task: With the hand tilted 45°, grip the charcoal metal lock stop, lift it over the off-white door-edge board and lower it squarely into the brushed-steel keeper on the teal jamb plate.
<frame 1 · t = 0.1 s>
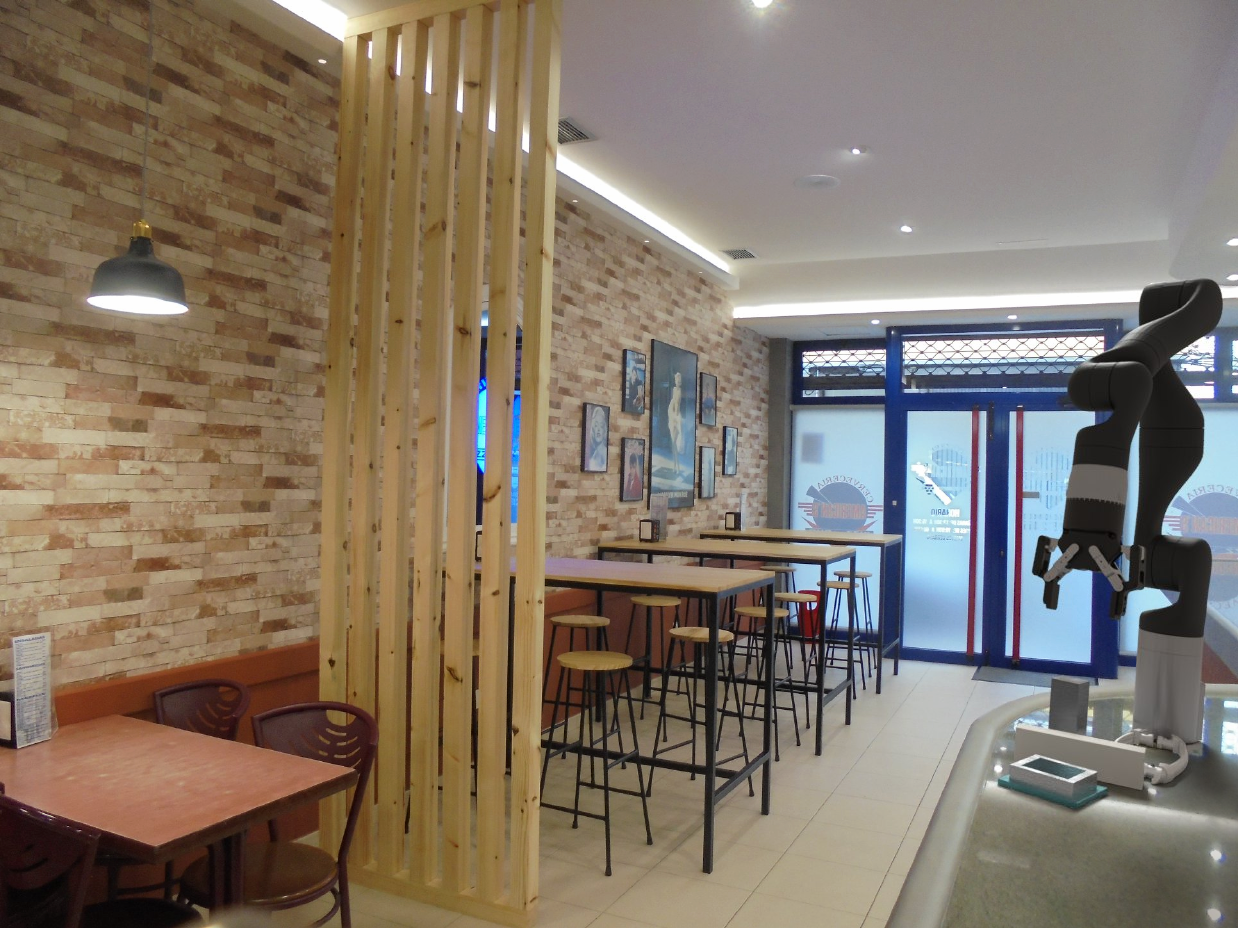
hand: (1081, 614, 125), 22 cm above the table, tool pointing down, fingers open, 8 cm apart
door handle: (1148, 764, 134), on the table
keeper: (1052, 789, 118), on the table
door edge: (1076, 772, 125), on the table
lock stop: (1065, 751, 135), on the table
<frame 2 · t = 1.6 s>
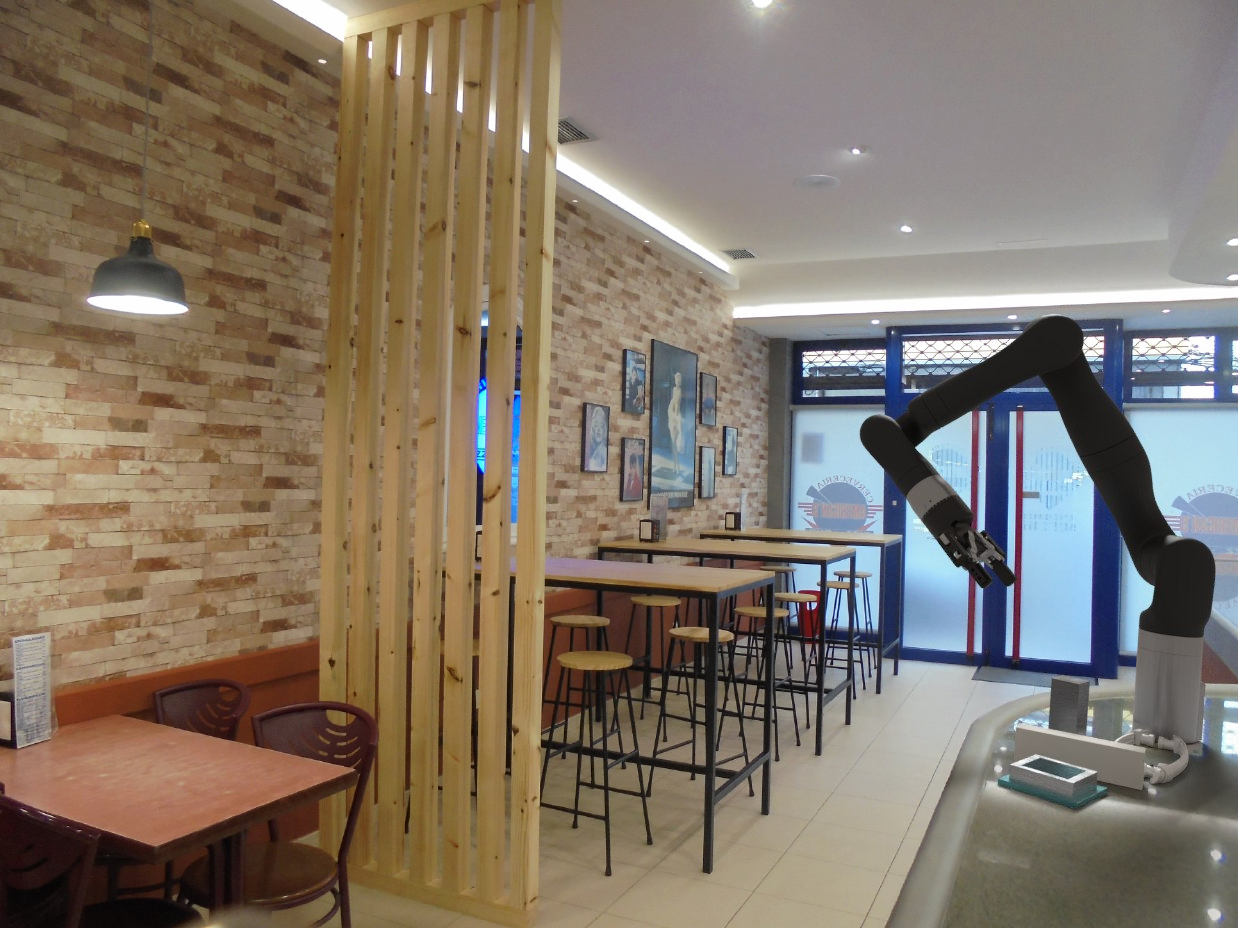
hand: (1000, 584, 144), 24 cm above the table, tool tilted 45°, fingers open, 8 cm apart
nothing on the table moved.
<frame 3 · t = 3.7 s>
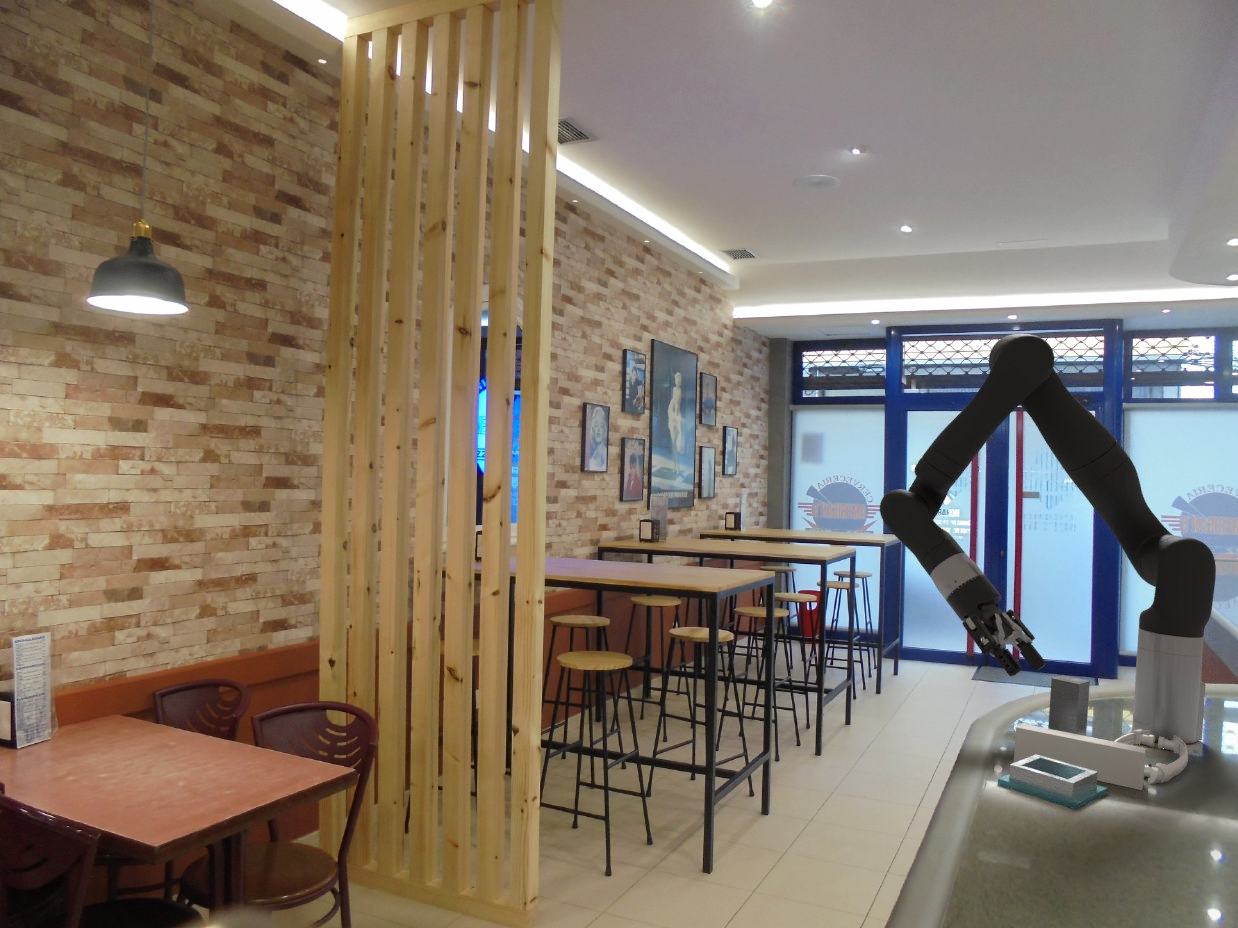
hand: (1029, 670, 140), 11 cm above the table, tool tilted 45°, fingers open, 8 cm apart
nothing on the table moved.
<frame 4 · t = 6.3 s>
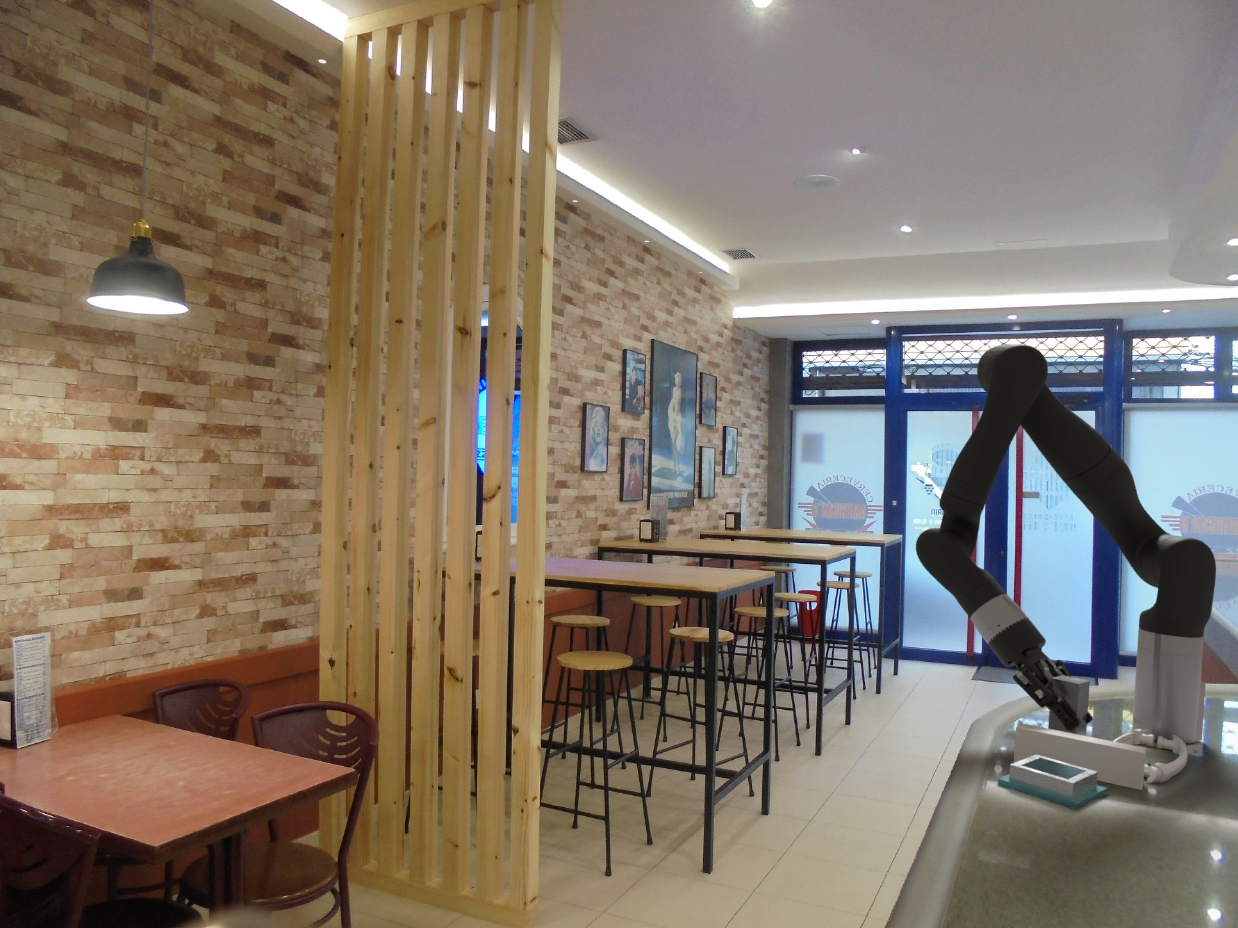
hand: (1081, 724, 134), 5 cm above the table, tool tilted 45°, fingers closed on lock stop, 4 cm apart
lock stop: (1065, 751, 135), on the table, touching gripper
everything else where it was.
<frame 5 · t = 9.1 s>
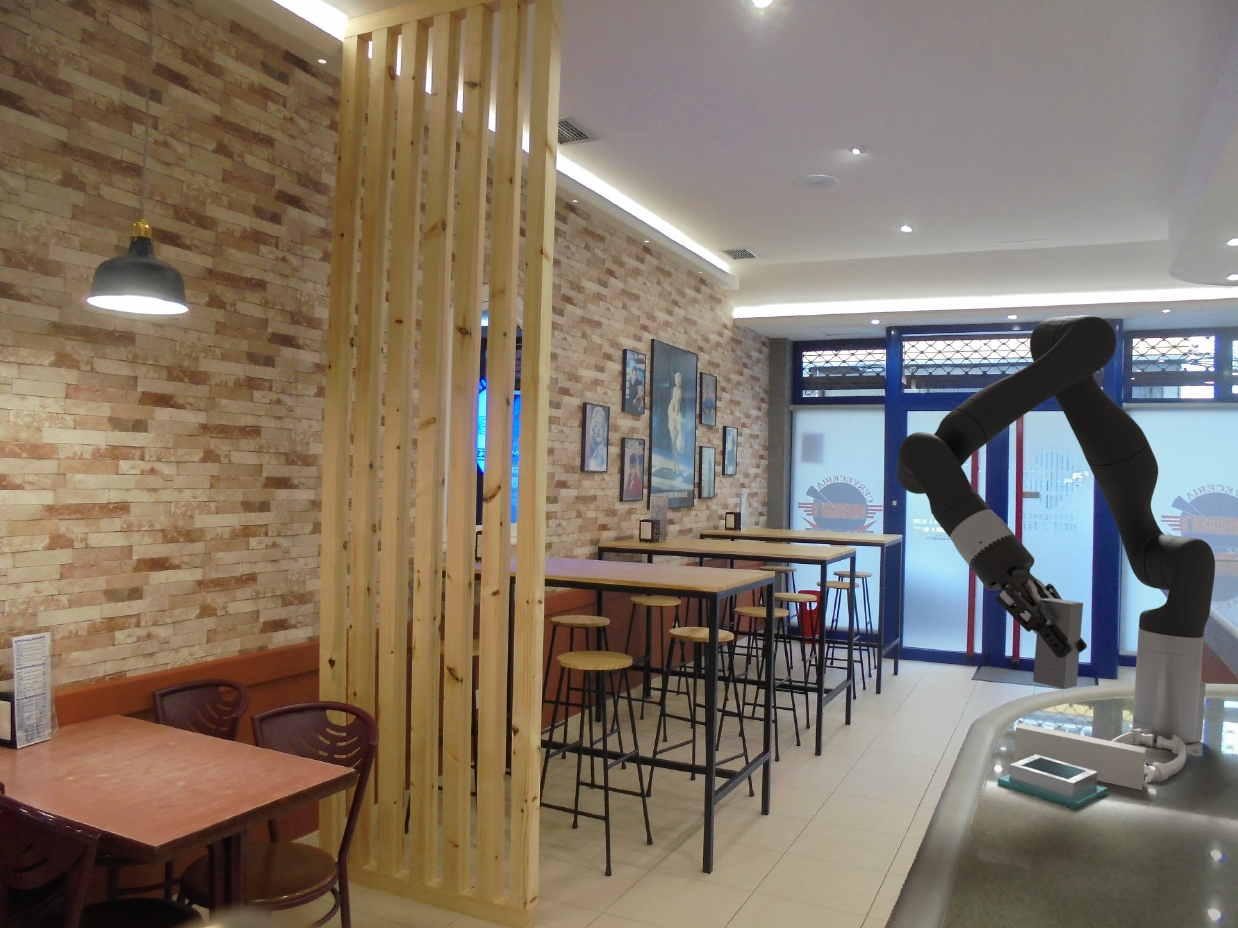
hand: (1073, 652, 117), 18 cm above the table, tool tilted 45°, fingers closed on lock stop, 4 cm apart
lock stop: (1054, 683, 119), point 14 cm above the table, touching gripper
everything else where it was.
when the fingers open (6 cm above the table, at t = 12.4 s): lock stop drops 1 cm, resting on keeper.
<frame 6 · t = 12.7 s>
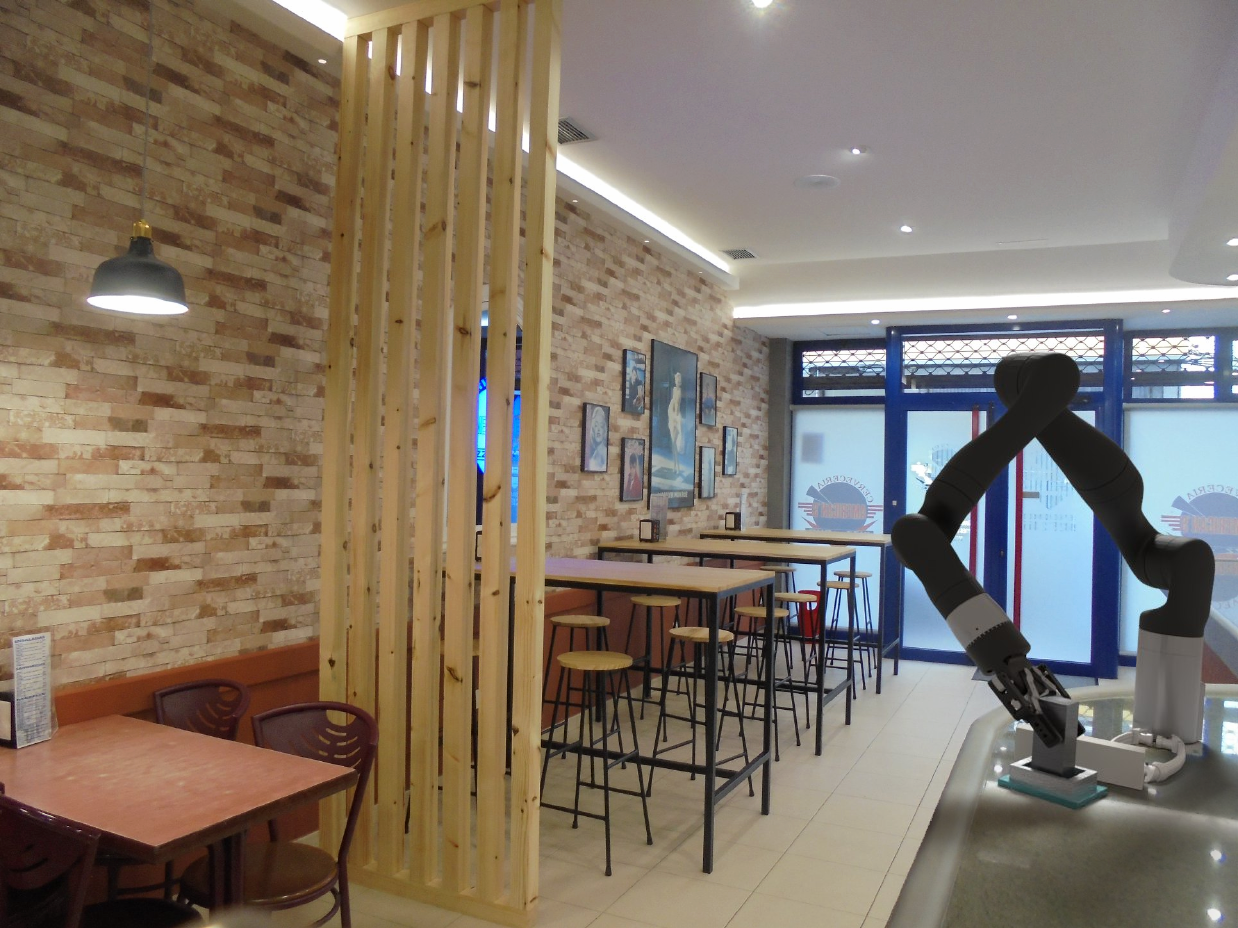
hand: (1068, 739, 117), 7 cm above the table, tool tilted 45°, fingers open, 7 cm apart
lock stop: (1051, 782, 118), point 1 cm above the table, touching keeper
everything else where it was.
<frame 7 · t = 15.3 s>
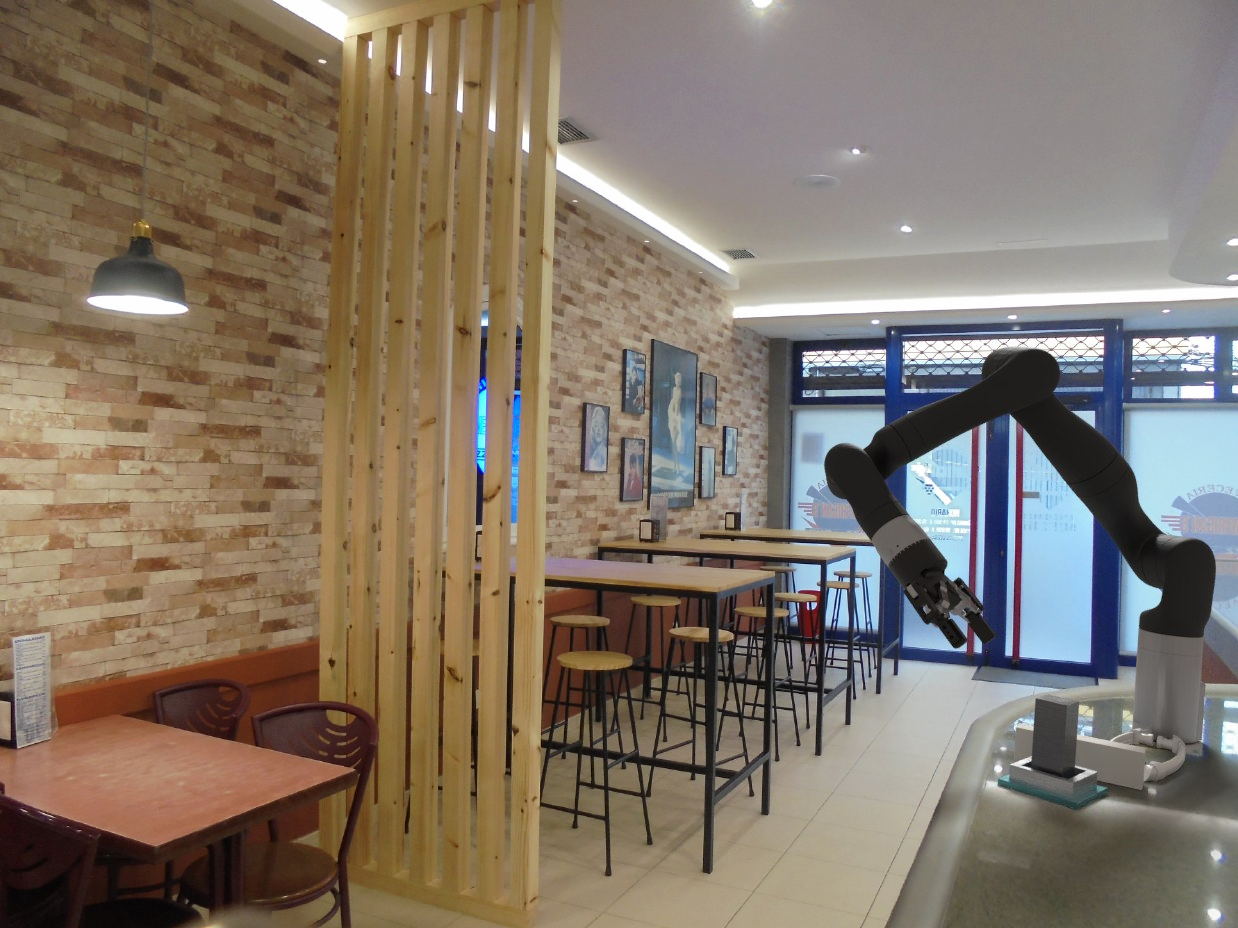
hand: (976, 642, 126), 17 cm above the table, tool tilted 45°, fingers open, 8 cm apart
nothing on the table moved.
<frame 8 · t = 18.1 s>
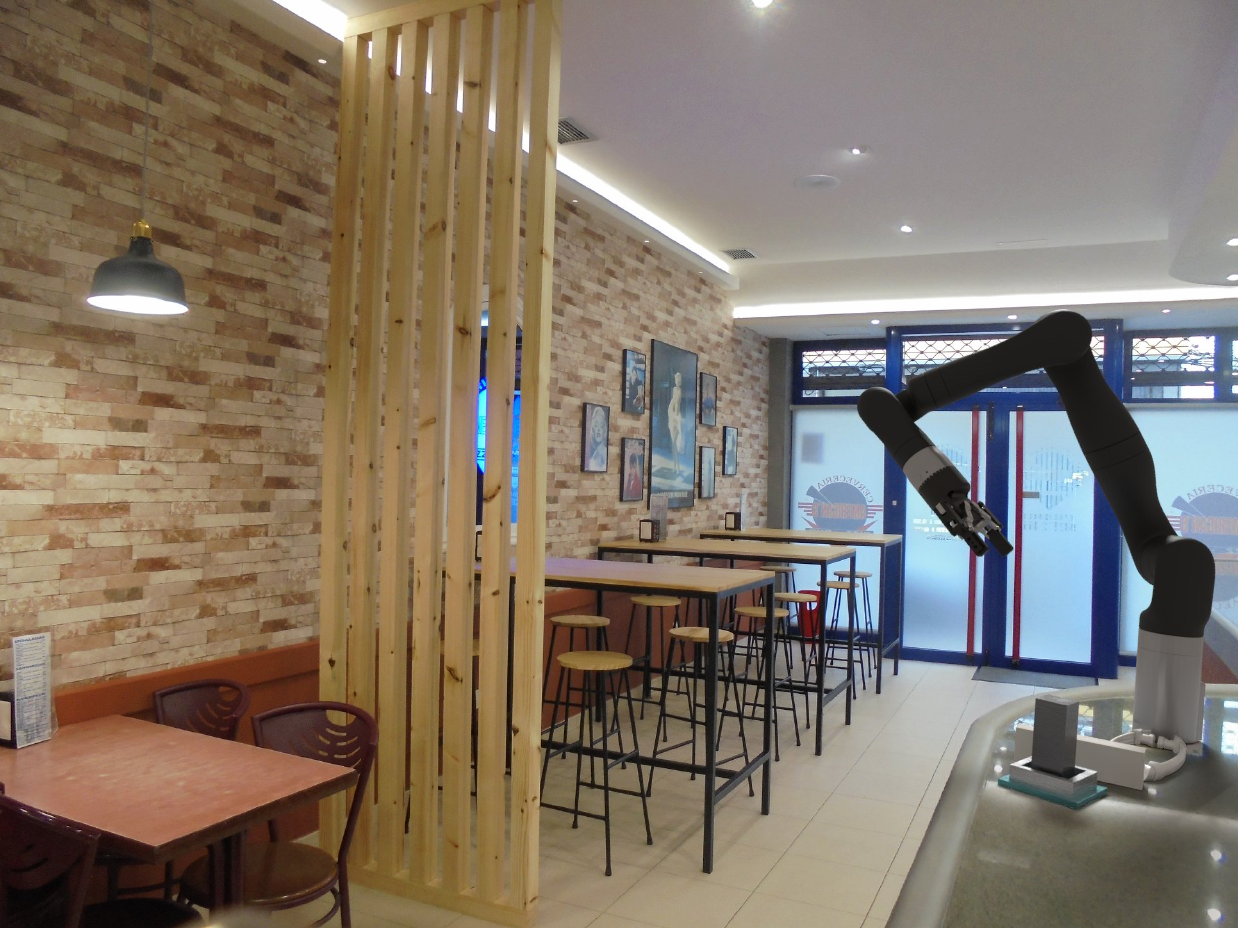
hand: (997, 553, 145), 29 cm above the table, tool tilted 45°, fingers open, 8 cm apart
nothing on the table moved.
at the end: lock stop 0.1 cm off-centre on the keeper, point 0.8 cm above the keeper's base; lock stop tilted 0°; the gripper is holding nothing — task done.
